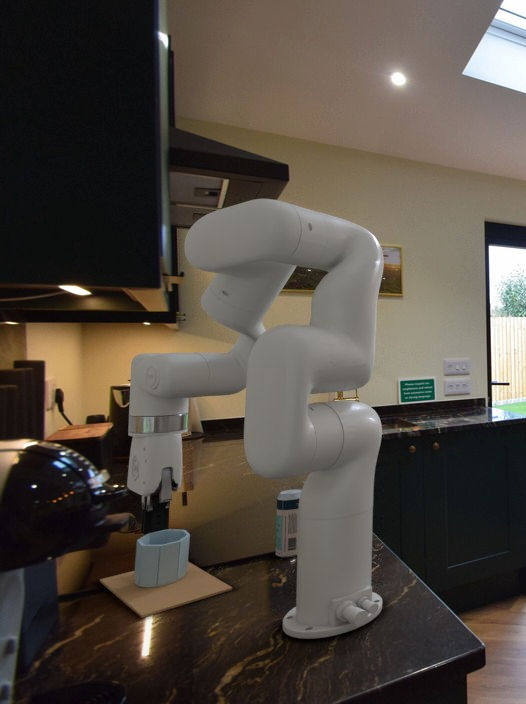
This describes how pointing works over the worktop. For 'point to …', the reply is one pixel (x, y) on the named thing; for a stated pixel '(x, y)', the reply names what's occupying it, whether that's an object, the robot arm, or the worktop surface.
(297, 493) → the white labelled bottle
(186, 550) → the pale-blue faceted part
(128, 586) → the cork mat
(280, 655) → the worktop surface
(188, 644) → the worktop surface
